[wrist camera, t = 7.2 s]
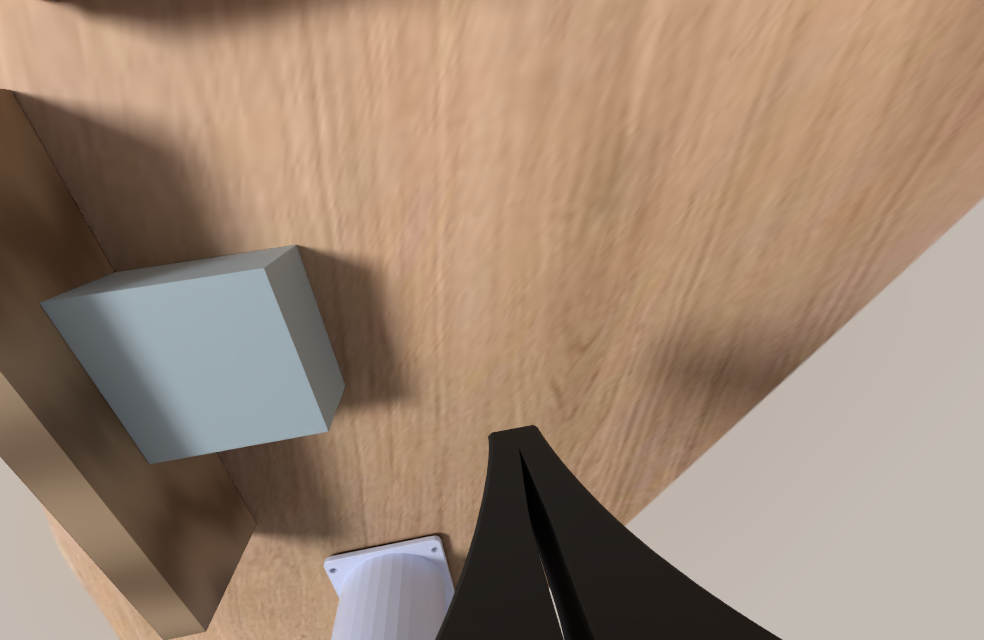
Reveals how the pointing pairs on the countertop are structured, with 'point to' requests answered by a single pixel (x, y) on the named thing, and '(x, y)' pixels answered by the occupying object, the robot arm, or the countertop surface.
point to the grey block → (206, 352)
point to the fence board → (97, 417)
